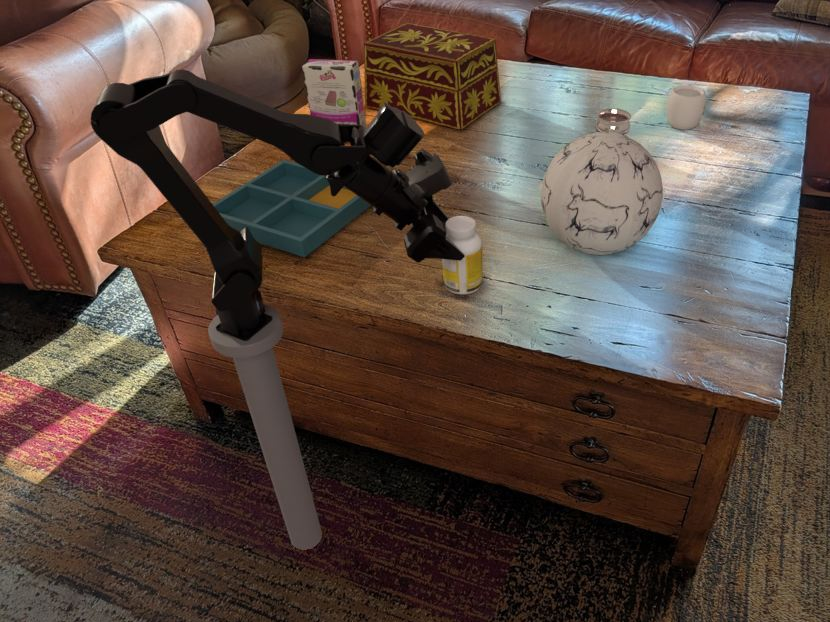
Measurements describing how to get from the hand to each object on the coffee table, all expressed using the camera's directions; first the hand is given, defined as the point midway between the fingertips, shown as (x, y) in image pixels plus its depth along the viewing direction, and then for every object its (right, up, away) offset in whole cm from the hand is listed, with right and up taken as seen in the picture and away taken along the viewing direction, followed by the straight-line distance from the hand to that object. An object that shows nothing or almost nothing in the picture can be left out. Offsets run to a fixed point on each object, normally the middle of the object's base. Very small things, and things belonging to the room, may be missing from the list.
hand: (457, 242), depth 114 cm
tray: (-32, +10, +24) cm, 41 cm away
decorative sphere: (+24, +2, +14) cm, 28 cm away
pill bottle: (+1, -6, +6) cm, 9 cm away
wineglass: (+30, +20, +35) cm, 50 cm away
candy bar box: (-28, +31, +49) cm, 64 cm away
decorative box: (-8, +43, +62) cm, 76 cm away
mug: (+50, +36, +53) cm, 81 cm away
